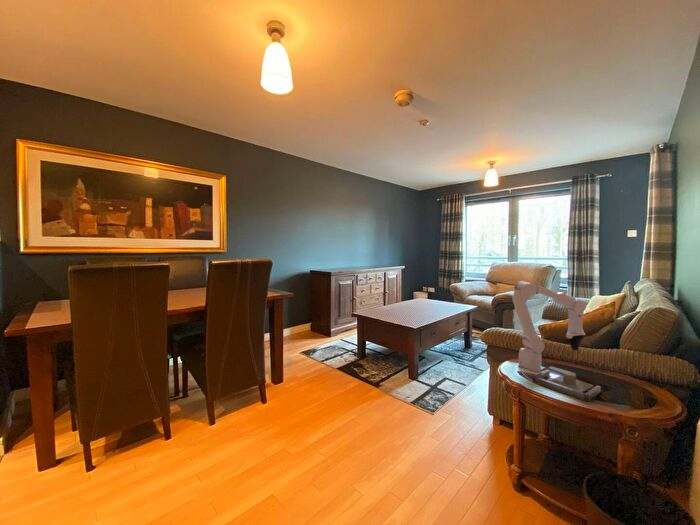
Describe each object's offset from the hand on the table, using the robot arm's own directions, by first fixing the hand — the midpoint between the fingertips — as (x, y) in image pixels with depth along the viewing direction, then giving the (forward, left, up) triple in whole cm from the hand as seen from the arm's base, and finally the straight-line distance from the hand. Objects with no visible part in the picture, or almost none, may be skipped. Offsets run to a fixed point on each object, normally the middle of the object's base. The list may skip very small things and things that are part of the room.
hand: (574, 349), depth 145 cm
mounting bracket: (+6, -25, -9) cm, 27 cm away
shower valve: (+5, -21, -10) cm, 24 cm away
